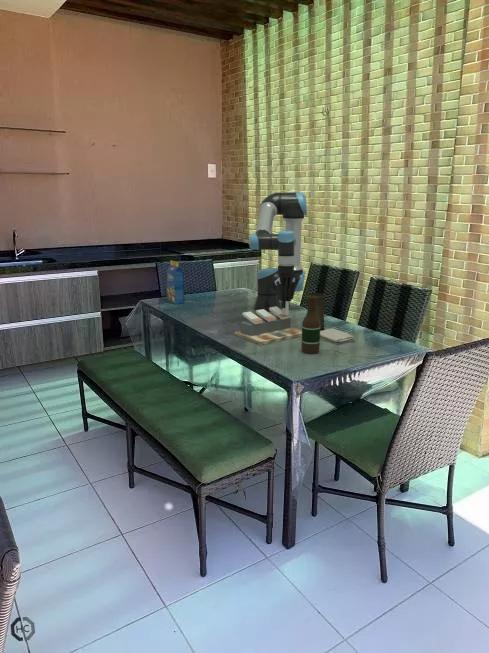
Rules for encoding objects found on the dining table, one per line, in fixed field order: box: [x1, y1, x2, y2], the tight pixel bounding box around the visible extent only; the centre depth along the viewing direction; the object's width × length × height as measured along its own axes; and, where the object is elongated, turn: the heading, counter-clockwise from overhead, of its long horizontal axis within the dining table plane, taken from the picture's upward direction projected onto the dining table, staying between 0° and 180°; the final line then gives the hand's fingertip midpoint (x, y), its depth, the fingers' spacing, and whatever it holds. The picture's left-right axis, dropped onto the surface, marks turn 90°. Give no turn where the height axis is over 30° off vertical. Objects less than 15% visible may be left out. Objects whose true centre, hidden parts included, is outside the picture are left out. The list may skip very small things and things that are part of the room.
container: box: [307, 292, 327, 331], centre depth 239 cm, size 9×9×18 cm
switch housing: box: [239, 315, 292, 336], centre depth 237 cm, size 24×8×5 cm, turn 126°
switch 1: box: [242, 311, 263, 324], centre depth 231 cm, size 4×10×2 cm, turn 36°
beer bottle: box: [301, 295, 321, 355], centre depth 208 cm, size 8×8×24 cm
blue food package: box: [166, 259, 185, 305], centre depth 301 cm, size 6×12×25 cm, turn 31°
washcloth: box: [320, 328, 356, 346], centre depth 229 cm, size 12×18×3 cm, turn 32°
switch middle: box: [255, 309, 276, 322], centre depth 236 cm, size 4×10×2 cm, turn 36°
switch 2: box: [269, 306, 290, 320], centre depth 240 cm, size 4×10×2 cm, turn 36°
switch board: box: [234, 325, 302, 346], centre depth 234 cm, size 28×20×2 cm
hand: (285, 314), depth 236 cm, fingers closed
